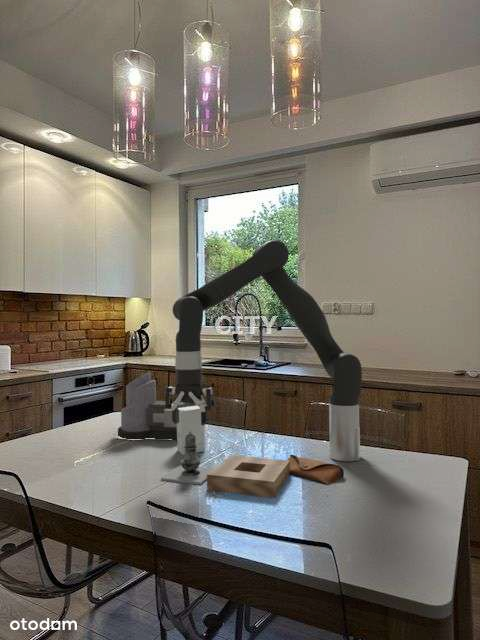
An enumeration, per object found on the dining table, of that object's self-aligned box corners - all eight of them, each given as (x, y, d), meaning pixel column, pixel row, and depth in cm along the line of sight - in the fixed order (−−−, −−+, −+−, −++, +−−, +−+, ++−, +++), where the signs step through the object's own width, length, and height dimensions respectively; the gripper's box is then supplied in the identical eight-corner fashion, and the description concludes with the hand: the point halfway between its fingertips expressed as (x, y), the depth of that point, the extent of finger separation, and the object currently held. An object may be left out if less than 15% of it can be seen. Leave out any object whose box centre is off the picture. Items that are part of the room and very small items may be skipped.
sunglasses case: (274, 471, 134) (280, 449, 136) (285, 478, 138) (292, 456, 141) (329, 485, 122) (335, 460, 125) (340, 492, 127) (346, 468, 130)
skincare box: (199, 447, 160) (198, 404, 160) (205, 452, 155) (205, 407, 155) (176, 450, 156) (175, 407, 156) (181, 455, 151) (181, 410, 151)
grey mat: (217, 470, 135) (217, 468, 135) (201, 484, 124) (201, 482, 124) (180, 466, 139) (180, 464, 139) (161, 480, 128) (161, 477, 128)
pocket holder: (290, 474, 131) (289, 460, 131) (274, 497, 114) (273, 481, 114) (230, 468, 137) (230, 455, 137) (206, 489, 120) (206, 474, 120)
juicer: (107, 439, 172) (106, 374, 172) (125, 429, 188) (124, 369, 188) (184, 442, 167) (183, 375, 167) (196, 432, 183) (195, 370, 183)
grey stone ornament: (197, 477, 128) (197, 434, 128) (177, 476, 129) (177, 433, 129) (203, 470, 134) (203, 429, 134) (184, 469, 135) (183, 428, 135)
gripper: (216, 366, 133) (218, 422, 133) (172, 365, 137) (173, 419, 137) (206, 368, 125) (208, 428, 125) (160, 368, 130) (161, 425, 130)
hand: (190, 423), depth 131 cm, fingers open, 8 cm apart
